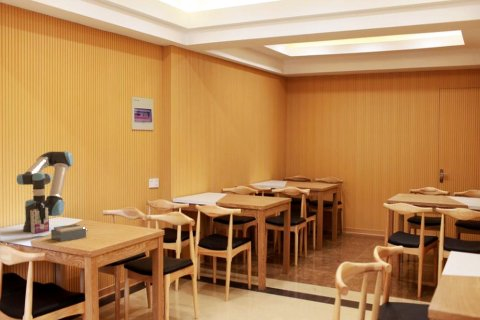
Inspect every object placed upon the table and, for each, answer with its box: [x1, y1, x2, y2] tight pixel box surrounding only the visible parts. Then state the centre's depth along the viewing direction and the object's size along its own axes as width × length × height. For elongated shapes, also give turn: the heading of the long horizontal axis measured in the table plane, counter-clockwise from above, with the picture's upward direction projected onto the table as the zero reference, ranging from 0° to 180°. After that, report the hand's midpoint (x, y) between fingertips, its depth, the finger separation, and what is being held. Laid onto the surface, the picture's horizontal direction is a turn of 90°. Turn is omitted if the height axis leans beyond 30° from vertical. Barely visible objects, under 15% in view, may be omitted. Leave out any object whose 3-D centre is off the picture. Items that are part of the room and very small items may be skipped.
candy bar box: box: [30, 208, 50, 235], centre depth 316 cm, size 11×5×16 cm, turn 148°
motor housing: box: [50, 223, 89, 243], centre depth 315 cm, size 14×23×8 cm, turn 137°
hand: (40, 228), depth 317 cm, fingers closed on candy bar box, 6 cm apart
